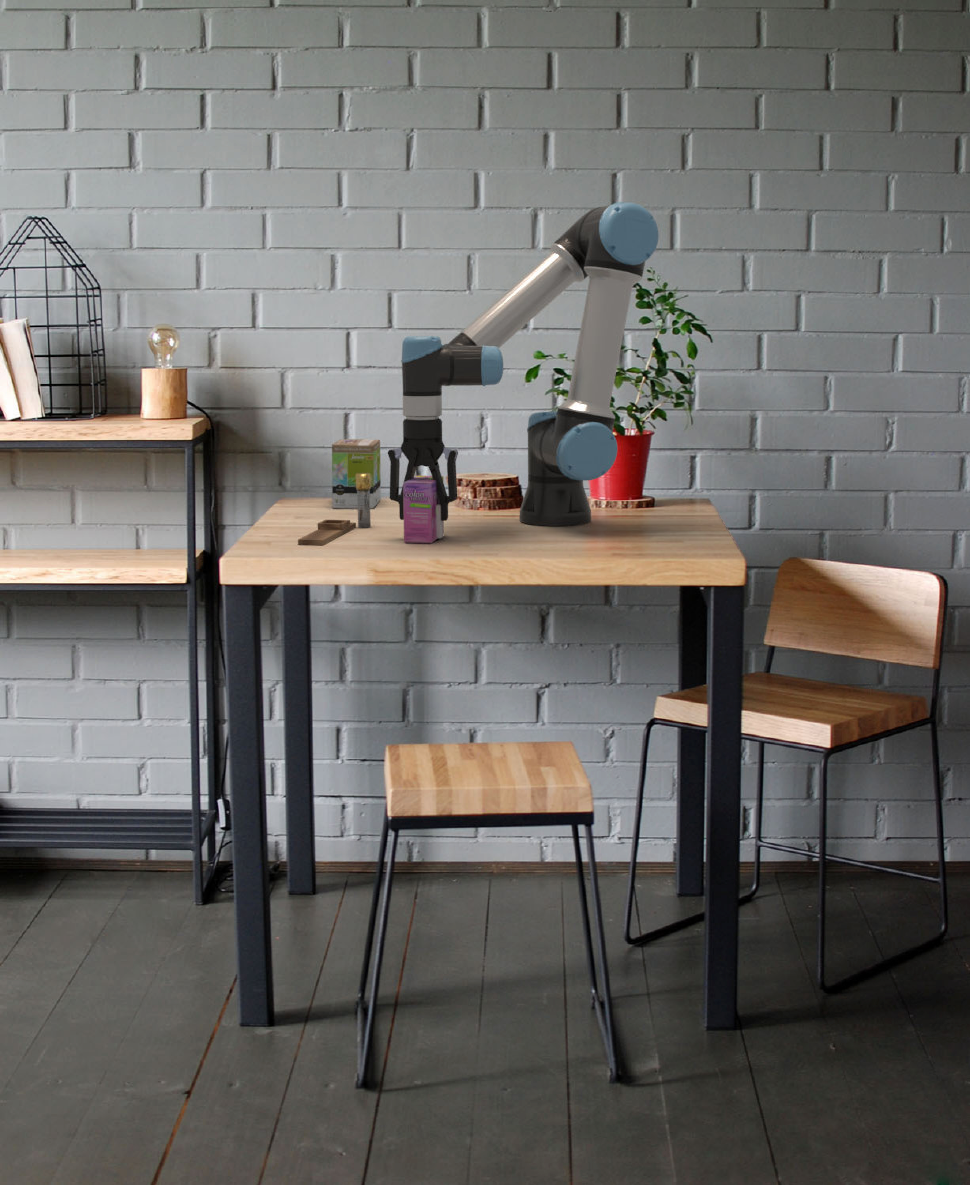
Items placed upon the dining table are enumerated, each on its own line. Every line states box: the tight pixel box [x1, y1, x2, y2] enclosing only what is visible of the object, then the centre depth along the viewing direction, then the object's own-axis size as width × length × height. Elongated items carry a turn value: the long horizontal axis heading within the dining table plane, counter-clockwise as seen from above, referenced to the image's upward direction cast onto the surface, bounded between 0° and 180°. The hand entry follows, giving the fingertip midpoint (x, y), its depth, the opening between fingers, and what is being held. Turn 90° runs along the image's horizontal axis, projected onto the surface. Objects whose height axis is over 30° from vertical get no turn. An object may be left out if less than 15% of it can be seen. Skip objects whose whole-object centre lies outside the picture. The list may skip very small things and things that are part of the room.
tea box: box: [331, 438, 382, 509], centre depth 306 cm, size 15×10×15 cm
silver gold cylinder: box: [356, 473, 372, 529], centre depth 273 cm, size 3×3×11 cm
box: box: [402, 475, 445, 544], centre depth 258 cm, size 10×6×12 cm, turn 168°
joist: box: [297, 519, 357, 546], centre depth 264 cm, size 5×22×2 cm, turn 169°
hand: (424, 536), depth 259 cm, fingers closed on box, 6 cm apart
